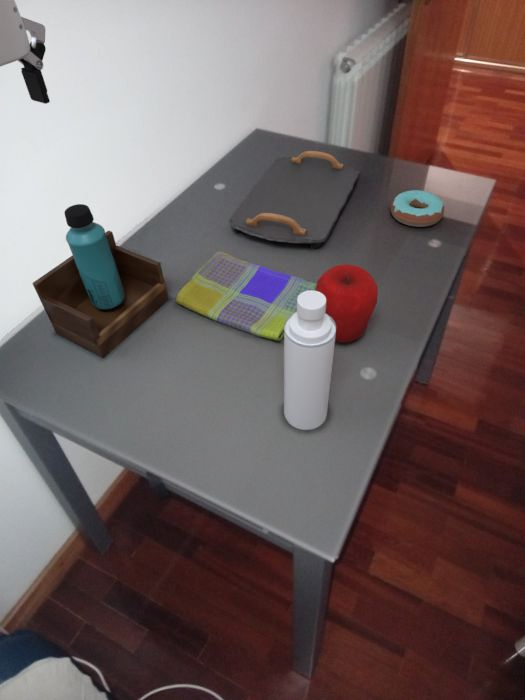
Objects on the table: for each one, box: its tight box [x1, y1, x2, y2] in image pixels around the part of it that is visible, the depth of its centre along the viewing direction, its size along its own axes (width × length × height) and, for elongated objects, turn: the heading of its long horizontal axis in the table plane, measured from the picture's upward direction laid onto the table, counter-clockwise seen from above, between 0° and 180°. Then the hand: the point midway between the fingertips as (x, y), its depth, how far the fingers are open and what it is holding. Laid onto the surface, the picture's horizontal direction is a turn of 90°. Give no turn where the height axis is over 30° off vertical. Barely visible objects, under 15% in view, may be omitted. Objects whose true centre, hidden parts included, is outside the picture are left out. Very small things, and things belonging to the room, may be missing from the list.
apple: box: [315, 263, 379, 343], centre depth 84 cm, size 11×10×14 cm
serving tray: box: [228, 150, 361, 250], centre depth 116 cm, size 39×23×6 cm, turn 159°
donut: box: [390, 189, 445, 228], centre depth 112 cm, size 12×12×4 cm
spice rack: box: [32, 230, 169, 359], centre depth 89 cm, size 18×12×12 cm, turn 148°
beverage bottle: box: [64, 203, 125, 309], centre depth 84 cm, size 6×7×20 cm
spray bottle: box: [283, 290, 336, 431], centre depth 68 cm, size 7×7×25 cm
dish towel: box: [173, 250, 317, 342], centre depth 95 cm, size 18×24×3 cm
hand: (11, 113), depth 65 cm, fingers open, 9 cm apart
